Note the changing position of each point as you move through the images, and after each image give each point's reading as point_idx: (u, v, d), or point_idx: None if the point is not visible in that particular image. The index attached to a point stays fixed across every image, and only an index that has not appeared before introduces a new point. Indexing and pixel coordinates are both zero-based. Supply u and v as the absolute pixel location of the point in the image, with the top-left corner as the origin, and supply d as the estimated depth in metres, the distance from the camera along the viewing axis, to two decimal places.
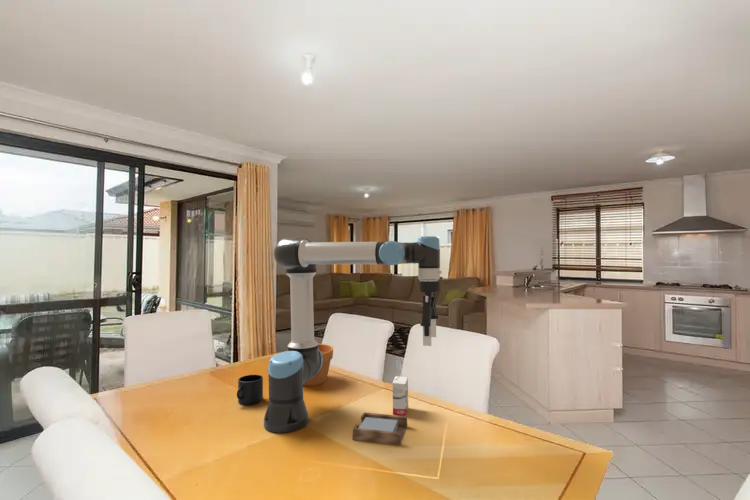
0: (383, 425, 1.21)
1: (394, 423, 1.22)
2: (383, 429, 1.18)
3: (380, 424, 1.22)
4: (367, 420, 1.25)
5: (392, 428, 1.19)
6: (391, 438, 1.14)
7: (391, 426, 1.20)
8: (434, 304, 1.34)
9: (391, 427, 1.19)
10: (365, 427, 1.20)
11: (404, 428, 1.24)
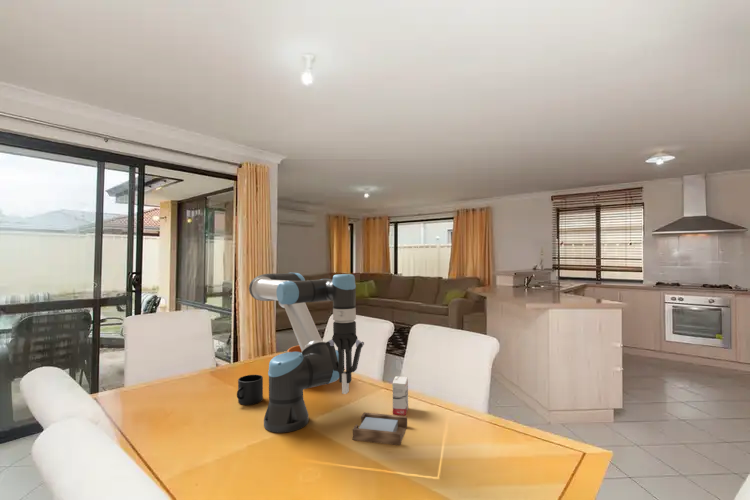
0: (383, 425, 1.21)
1: (394, 423, 1.22)
2: (383, 429, 1.18)
3: (380, 424, 1.22)
4: (367, 420, 1.25)
5: (392, 428, 1.19)
6: (391, 438, 1.14)
7: (391, 426, 1.20)
8: (345, 348, 1.23)
9: (391, 427, 1.19)
10: (365, 427, 1.20)
11: (404, 428, 1.24)
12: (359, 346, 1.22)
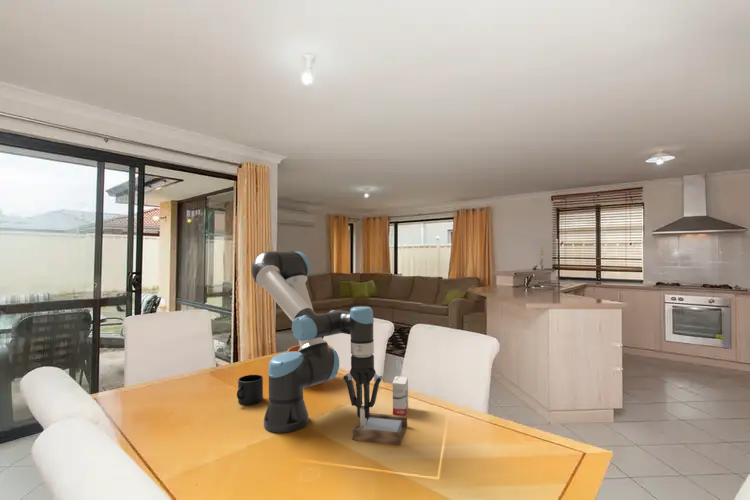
0: (386, 426, 1.21)
1: (398, 423, 1.22)
2: (387, 429, 1.18)
3: (383, 425, 1.21)
4: (371, 420, 1.25)
5: (396, 428, 1.19)
6: (391, 438, 1.14)
7: (395, 427, 1.20)
8: (363, 383, 1.22)
9: (394, 428, 1.19)
10: (369, 427, 1.20)
11: (404, 428, 1.24)
12: (377, 381, 1.21)
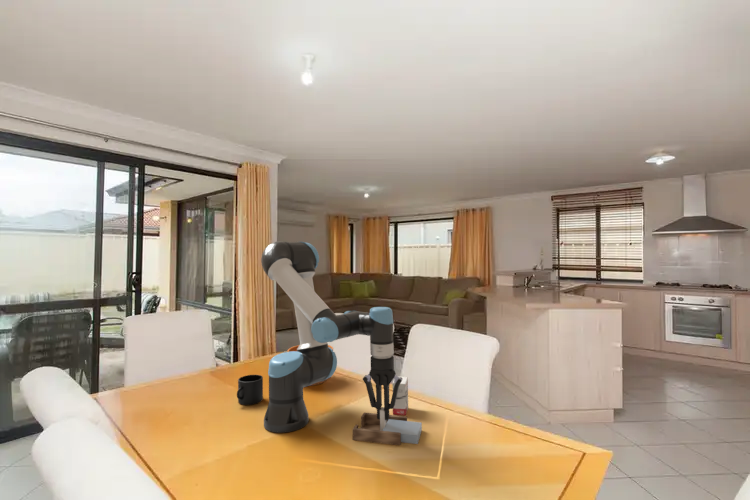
0: (407, 428, 1.19)
1: (418, 426, 1.20)
2: (408, 432, 1.16)
3: (404, 427, 1.20)
4: (390, 422, 1.23)
5: (417, 431, 1.17)
6: (391, 438, 1.14)
7: (415, 429, 1.18)
8: None
9: (415, 430, 1.17)
10: (389, 429, 1.18)
11: None
12: (398, 382, 1.19)
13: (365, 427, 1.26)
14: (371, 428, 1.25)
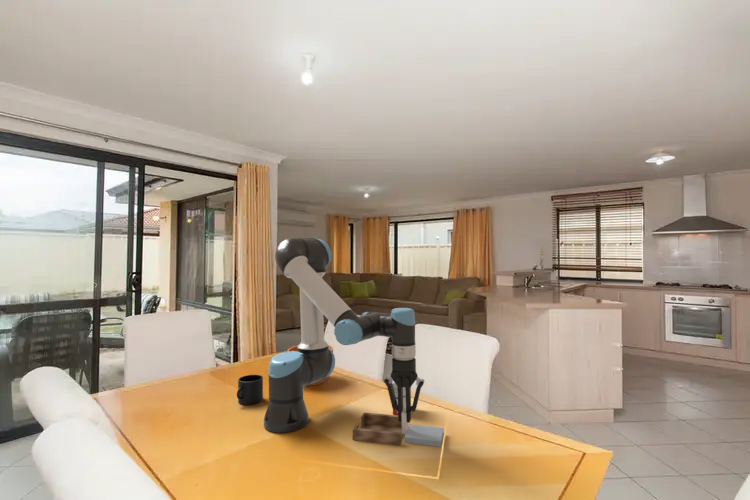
0: (429, 433, 1.17)
1: (440, 431, 1.19)
2: (431, 437, 1.15)
3: (426, 433, 1.18)
4: (412, 428, 1.21)
5: (440, 436, 1.15)
6: (391, 438, 1.14)
7: (438, 434, 1.16)
8: (405, 387, 1.18)
9: (438, 436, 1.16)
10: (411, 435, 1.16)
11: None
12: (420, 384, 1.17)
13: (365, 427, 1.26)
14: (371, 428, 1.25)
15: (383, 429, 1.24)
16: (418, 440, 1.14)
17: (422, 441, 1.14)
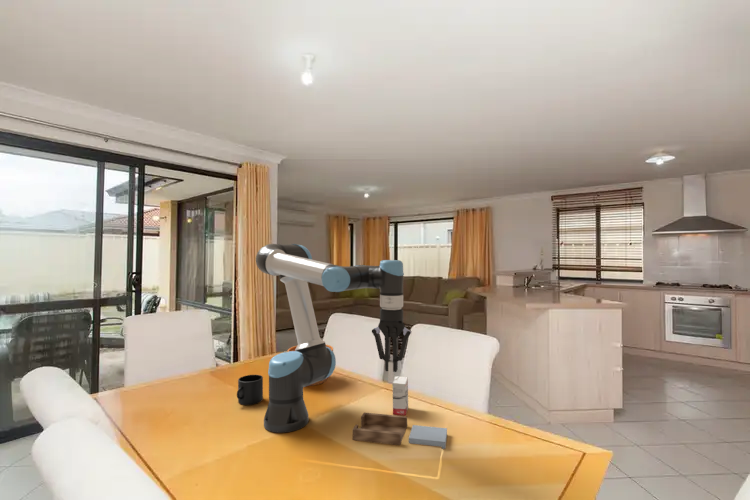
0: (433, 434, 1.17)
1: (444, 432, 1.19)
2: (435, 438, 1.14)
3: (430, 433, 1.18)
4: (415, 428, 1.21)
5: (444, 437, 1.15)
6: (391, 438, 1.14)
7: (442, 435, 1.16)
8: (392, 336, 1.20)
9: (442, 436, 1.15)
10: (415, 436, 1.16)
11: (404, 428, 1.24)
12: (407, 334, 1.19)
13: (365, 427, 1.26)
14: (371, 428, 1.25)
15: (383, 429, 1.24)
16: (422, 441, 1.14)
17: (426, 442, 1.14)
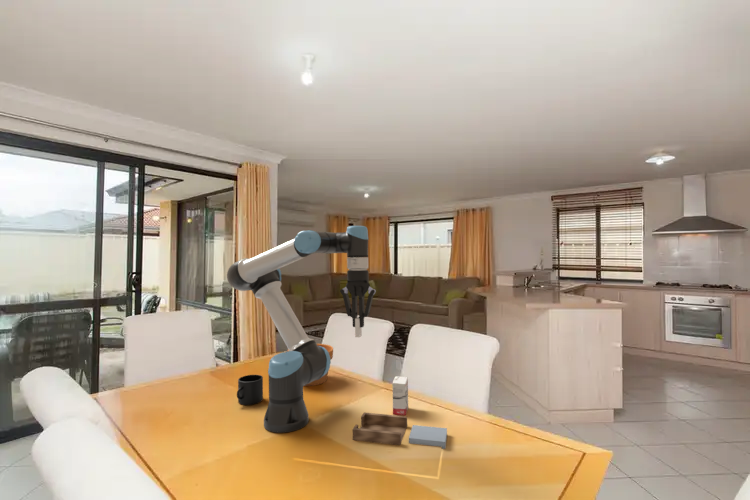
0: (433, 434, 1.17)
1: (444, 432, 1.19)
2: (435, 438, 1.14)
3: (430, 433, 1.18)
4: (415, 428, 1.21)
5: (444, 437, 1.15)
6: (391, 438, 1.14)
7: (442, 435, 1.16)
8: (358, 295, 1.32)
9: (442, 436, 1.15)
10: (415, 436, 1.16)
11: (404, 428, 1.24)
12: (371, 292, 1.31)
13: (365, 427, 1.26)
14: (371, 428, 1.25)
15: (383, 429, 1.24)
16: (422, 441, 1.14)
17: (426, 442, 1.14)
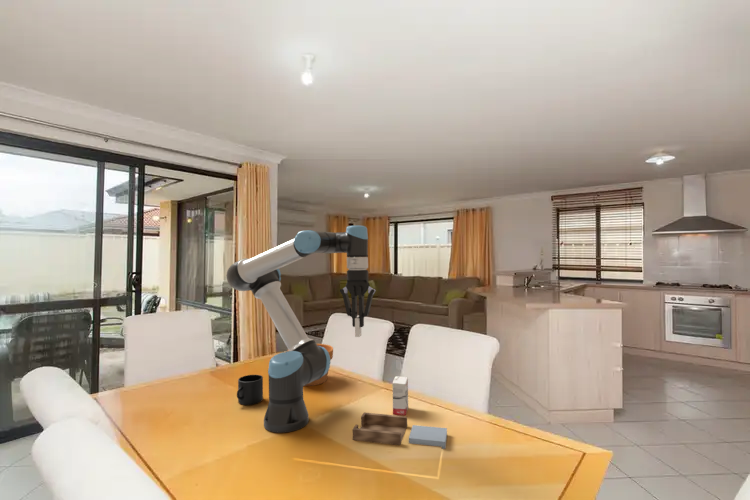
0: (433, 434, 1.17)
1: (444, 431, 1.19)
2: (435, 438, 1.14)
3: (430, 433, 1.18)
4: (415, 428, 1.21)
5: (444, 437, 1.15)
6: (391, 438, 1.14)
7: (442, 435, 1.16)
8: (358, 295, 1.32)
9: (442, 436, 1.15)
10: (415, 436, 1.16)
11: (404, 428, 1.24)
12: (371, 292, 1.31)
13: (365, 427, 1.26)
14: (371, 428, 1.25)
15: (383, 429, 1.24)
16: (422, 441, 1.14)
17: (426, 442, 1.14)
